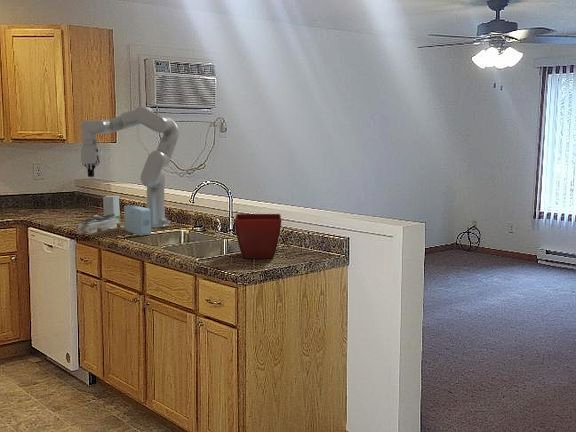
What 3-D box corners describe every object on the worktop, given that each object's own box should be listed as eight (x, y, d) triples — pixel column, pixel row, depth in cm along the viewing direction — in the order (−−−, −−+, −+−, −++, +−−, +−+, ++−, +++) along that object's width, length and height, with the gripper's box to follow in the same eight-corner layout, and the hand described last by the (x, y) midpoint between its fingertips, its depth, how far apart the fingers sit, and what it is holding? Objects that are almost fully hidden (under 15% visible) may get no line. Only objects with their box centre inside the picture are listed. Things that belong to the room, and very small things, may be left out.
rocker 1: (95, 220, 357) (94, 217, 357) (90, 221, 354) (90, 218, 354) (86, 222, 360) (85, 219, 360) (81, 223, 357) (81, 219, 356)
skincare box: (114, 224, 386) (113, 196, 384) (103, 224, 387) (102, 196, 385) (120, 222, 394) (119, 195, 392) (109, 222, 396) (108, 195, 394)
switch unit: (127, 227, 373) (127, 218, 373) (96, 235, 350) (95, 225, 349) (106, 226, 379) (106, 217, 378) (74, 233, 355) (73, 223, 355)
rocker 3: (115, 217, 372) (114, 213, 372) (110, 217, 369) (110, 214, 368) (106, 218, 374) (105, 215, 374) (101, 219, 371) (101, 215, 371)
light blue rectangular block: (123, 230, 365) (122, 205, 363) (133, 229, 368) (133, 204, 366) (140, 236, 346) (139, 210, 344) (151, 235, 349) (150, 209, 347)
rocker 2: (105, 221, 365) (106, 217, 364) (101, 221, 361) (101, 218, 361) (96, 218, 367) (96, 214, 367) (92, 219, 364) (92, 215, 363)
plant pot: (280, 251, 302) (280, 213, 300) (281, 260, 283) (281, 219, 281) (236, 252, 301) (236, 213, 299) (235, 260, 282) (234, 219, 280)
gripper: (105, 143, 378) (106, 176, 381) (83, 142, 384) (84, 175, 387) (96, 143, 371) (97, 177, 374) (74, 143, 377) (75, 176, 380)
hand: (91, 176), depth 380 cm, fingers closed
